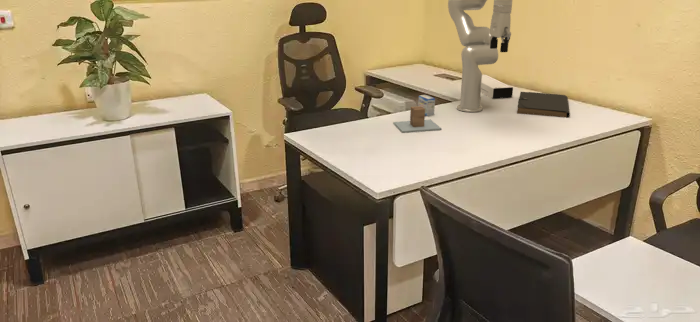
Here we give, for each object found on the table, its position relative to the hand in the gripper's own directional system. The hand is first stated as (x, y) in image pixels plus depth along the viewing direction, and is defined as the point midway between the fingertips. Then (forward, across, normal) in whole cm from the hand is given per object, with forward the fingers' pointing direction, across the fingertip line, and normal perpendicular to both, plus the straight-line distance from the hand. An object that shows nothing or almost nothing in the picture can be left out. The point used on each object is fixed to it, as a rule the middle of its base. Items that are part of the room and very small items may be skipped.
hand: (498, 50), depth 232 cm
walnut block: (+32, -3, -35) cm, 48 cm away
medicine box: (+34, -22, -24) cm, 47 cm away
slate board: (+33, -3, -35) cm, 48 cm away
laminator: (+34, -58, +26) cm, 72 cm away
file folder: (+34, -20, +38) cm, 55 cm away
